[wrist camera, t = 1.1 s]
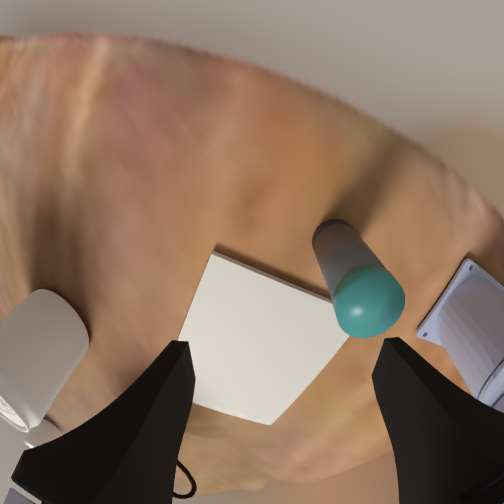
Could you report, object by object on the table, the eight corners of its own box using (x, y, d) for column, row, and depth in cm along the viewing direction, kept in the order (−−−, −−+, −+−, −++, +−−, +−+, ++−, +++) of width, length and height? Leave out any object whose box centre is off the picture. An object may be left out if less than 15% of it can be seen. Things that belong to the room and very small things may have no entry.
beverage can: (22, 289, 22) (-48, 356, 11) (68, 281, 21) (-18, 367, 10) (55, 350, 25) (3, 423, 14) (105, 352, 24) (50, 446, 13)
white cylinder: (55, 436, 37) (43, 460, 31) (32, 415, 35) (18, 438, 28) (71, 439, 36) (58, 465, 29) (46, 416, 33) (31, 443, 27)
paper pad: (361, 312, 20) (363, 316, 20) (270, 421, 26) (270, 425, 26) (213, 250, 19) (211, 254, 18) (161, 385, 25) (159, 389, 24)
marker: (364, 230, 18) (417, 291, 10) (342, 268, 19) (377, 345, 12) (325, 210, 17) (363, 264, 10) (303, 251, 19) (322, 325, 11)
